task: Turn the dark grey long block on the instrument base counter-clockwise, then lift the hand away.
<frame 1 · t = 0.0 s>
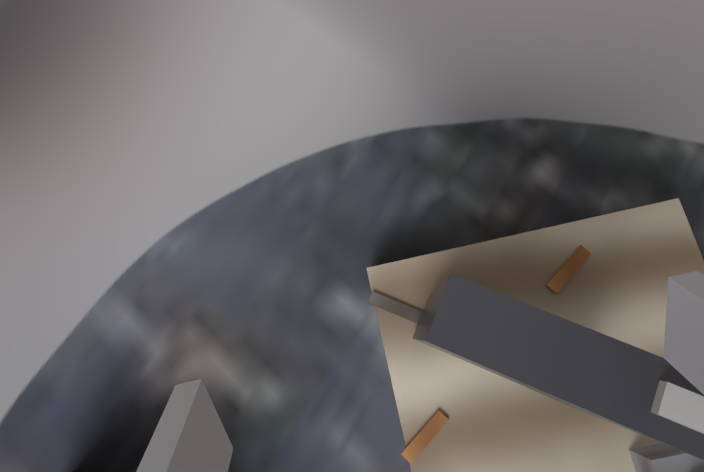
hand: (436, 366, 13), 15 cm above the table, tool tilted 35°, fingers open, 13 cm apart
instrument base: (556, 407, 26), on the table
dark grey long block: (528, 355, 19), point 9 cm above the table, hinge at 0.0°
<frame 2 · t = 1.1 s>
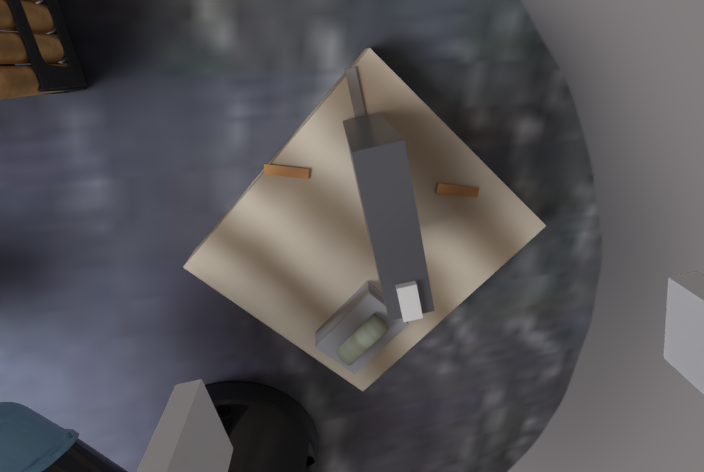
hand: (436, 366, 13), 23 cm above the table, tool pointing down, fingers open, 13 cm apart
instrument base: (362, 231, 36), on the table
ammunition clip: (45, 4, 29), on the table
dark grey long block: (383, 206, 26), point 9 cm above the table, hinge at 0.0°
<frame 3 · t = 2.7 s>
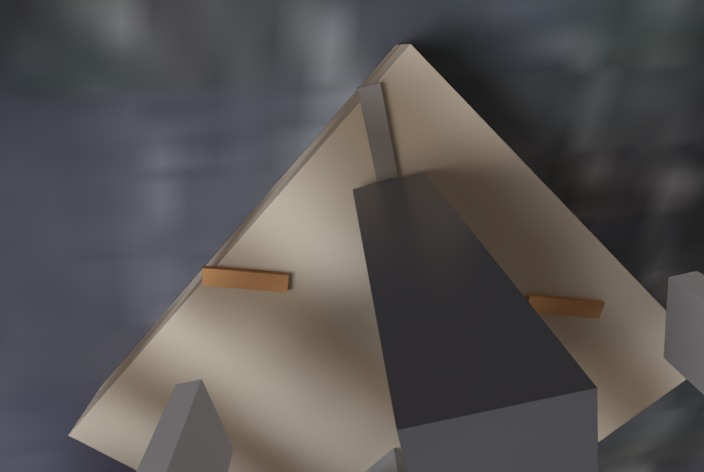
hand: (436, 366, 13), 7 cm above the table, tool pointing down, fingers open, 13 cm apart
instrument base: (384, 352, 21), on the table
dark grey long block: (447, 401, 11), point 9 cm above the table, hinge at 0.0°
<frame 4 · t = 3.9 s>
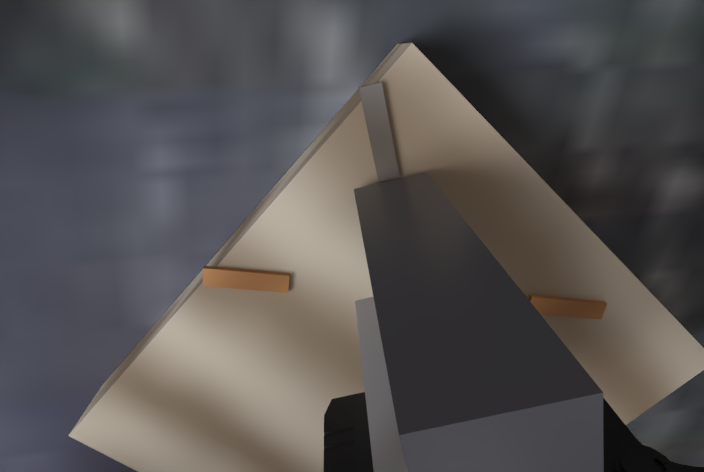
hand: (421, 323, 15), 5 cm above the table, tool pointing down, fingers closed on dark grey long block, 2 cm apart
instrument base: (385, 352, 21), on the table
dark grey long block: (449, 403, 11), point 9 cm above the table, hinge at 0.0°, touching gripper
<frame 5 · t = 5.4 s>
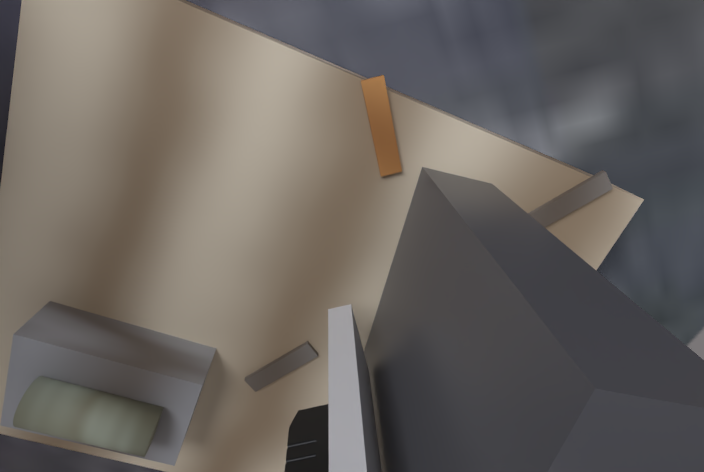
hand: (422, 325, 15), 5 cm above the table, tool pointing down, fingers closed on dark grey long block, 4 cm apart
instrument base: (289, 282, 19), on the table
dark grey long block: (453, 400, 11), point 9 cm above the table, hinge at 43.0°, touching gripper
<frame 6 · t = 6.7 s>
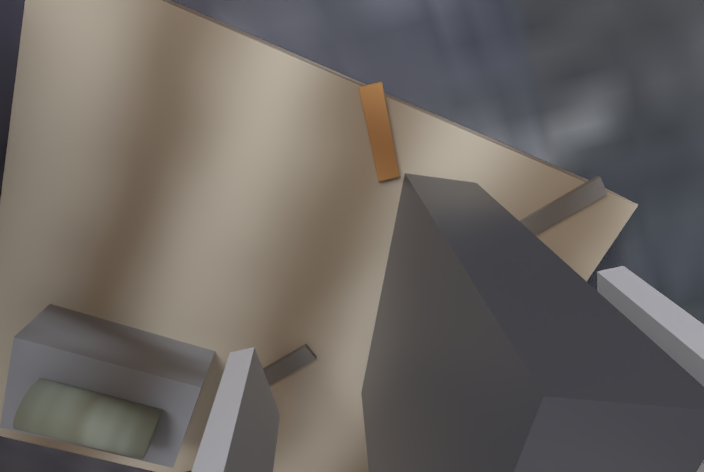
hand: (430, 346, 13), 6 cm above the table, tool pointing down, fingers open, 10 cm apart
instrument base: (288, 286, 20), on the table
dark grey long block: (449, 403, 11), point 9 cm above the table, hinge at 48.7°
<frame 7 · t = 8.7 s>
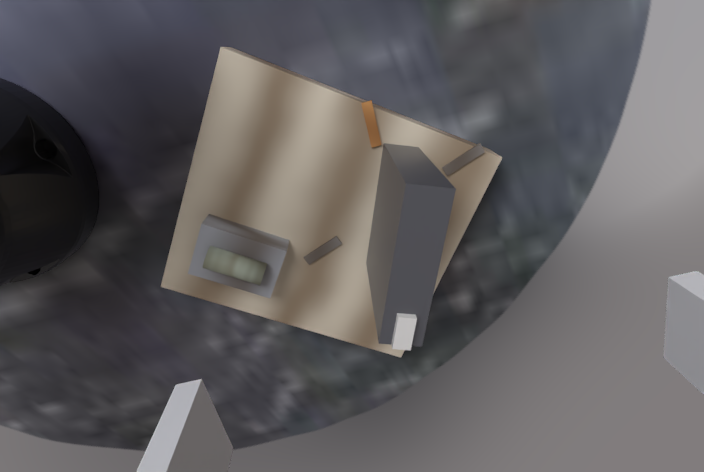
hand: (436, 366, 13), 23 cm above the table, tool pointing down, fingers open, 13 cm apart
instrument base: (324, 211, 35), on the table
dark grey long block: (401, 235, 27), point 9 cm above the table, hinge at 49.0°
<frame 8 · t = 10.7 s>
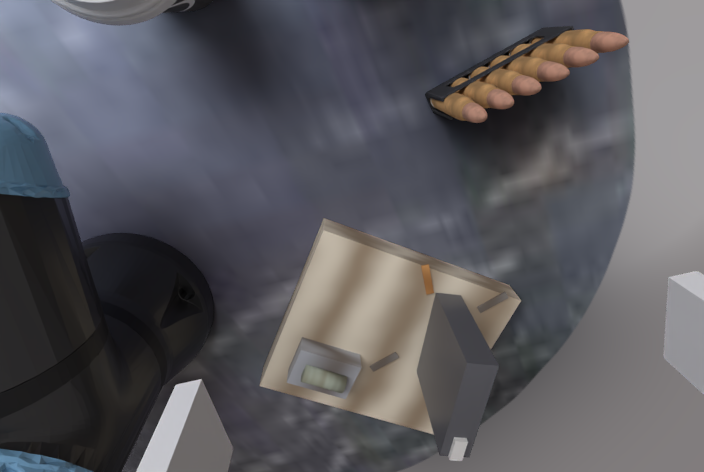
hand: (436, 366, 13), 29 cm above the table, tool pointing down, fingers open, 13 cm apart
instrument base: (383, 326, 46), on the table
ammunition clip: (486, 71, 37), on the table
dark grey long block: (451, 370, 38), point 9 cm above the table, hinge at 49.0°
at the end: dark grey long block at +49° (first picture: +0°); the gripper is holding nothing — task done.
